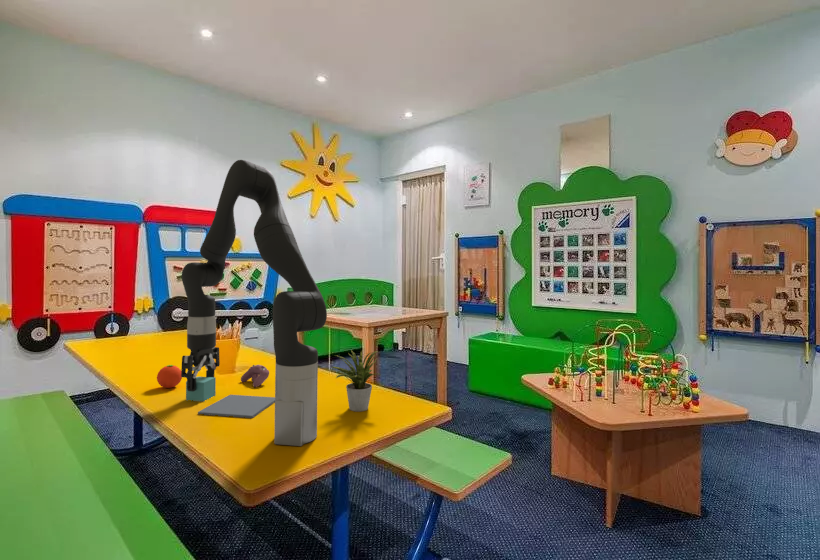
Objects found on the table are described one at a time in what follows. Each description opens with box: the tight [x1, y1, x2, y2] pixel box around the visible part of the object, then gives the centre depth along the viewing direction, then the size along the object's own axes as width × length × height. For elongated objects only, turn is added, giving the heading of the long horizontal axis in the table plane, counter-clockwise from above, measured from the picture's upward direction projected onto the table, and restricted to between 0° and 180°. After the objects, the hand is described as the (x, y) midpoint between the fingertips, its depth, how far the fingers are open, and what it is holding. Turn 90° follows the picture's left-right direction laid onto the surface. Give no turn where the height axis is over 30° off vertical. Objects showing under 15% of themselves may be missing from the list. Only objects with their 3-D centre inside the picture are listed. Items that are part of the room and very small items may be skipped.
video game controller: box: [240, 364, 270, 388], centre depth 137 cm, size 10×5×7 cm, turn 47°
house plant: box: [331, 350, 381, 412], centre depth 116 cm, size 14×14×16 cm
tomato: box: [156, 364, 183, 389], centre depth 131 cm, size 8×7×7 cm
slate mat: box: [197, 394, 275, 419], centre depth 114 cm, size 15×15×1 cm
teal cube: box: [185, 376, 217, 402], centre depth 121 cm, size 6×6×6 cm
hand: (201, 386), depth 121 cm, fingers open, 8 cm apart
